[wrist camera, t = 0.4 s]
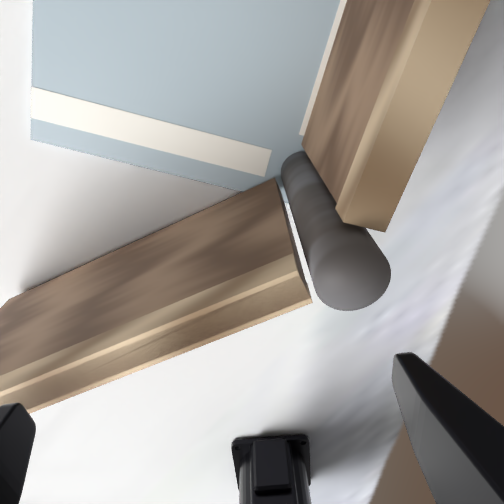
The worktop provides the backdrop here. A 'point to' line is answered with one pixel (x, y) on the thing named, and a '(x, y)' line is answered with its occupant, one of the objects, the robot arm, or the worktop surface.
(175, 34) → the card
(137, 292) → the fence swing panel
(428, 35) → the panel
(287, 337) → the worktop surface
